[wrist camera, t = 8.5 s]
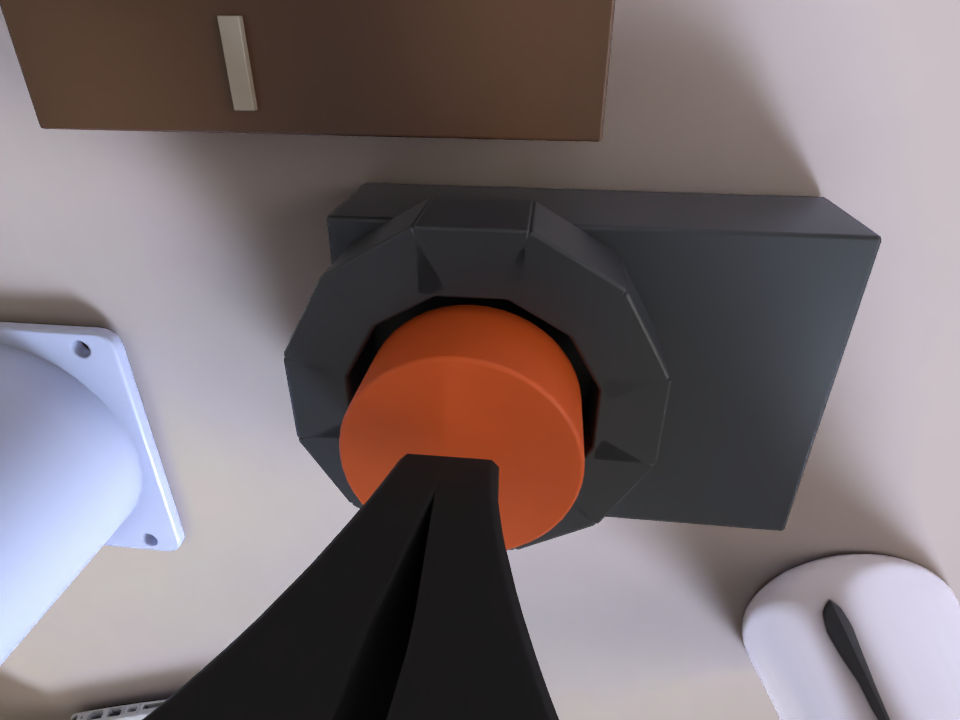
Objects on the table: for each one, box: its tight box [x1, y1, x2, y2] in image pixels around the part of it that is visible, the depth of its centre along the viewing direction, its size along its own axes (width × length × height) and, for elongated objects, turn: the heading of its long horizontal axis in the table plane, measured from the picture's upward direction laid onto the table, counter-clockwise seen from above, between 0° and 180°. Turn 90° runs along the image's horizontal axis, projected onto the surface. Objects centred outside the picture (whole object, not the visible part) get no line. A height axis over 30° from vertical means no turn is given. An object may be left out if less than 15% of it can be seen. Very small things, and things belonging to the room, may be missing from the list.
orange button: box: [339, 305, 585, 550], centre depth 11 cm, size 4×4×2 cm
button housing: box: [284, 183, 881, 550], centre depth 13 cm, size 10×7×4 cm
